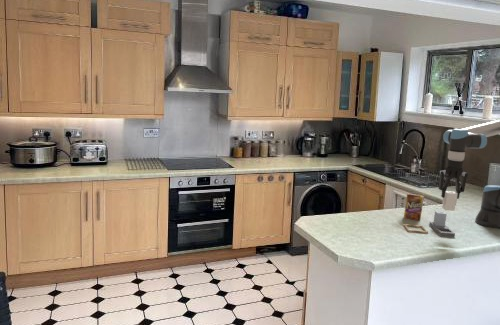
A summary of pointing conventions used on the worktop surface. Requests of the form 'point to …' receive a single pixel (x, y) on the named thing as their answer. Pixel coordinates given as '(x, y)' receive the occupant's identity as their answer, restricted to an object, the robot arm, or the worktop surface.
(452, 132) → the robot arm
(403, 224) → the tray
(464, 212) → the worktop surface
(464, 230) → the worktop surface
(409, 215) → the candy box
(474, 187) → the worktop surface
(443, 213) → the charger blue
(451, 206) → the block
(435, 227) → the power strip
